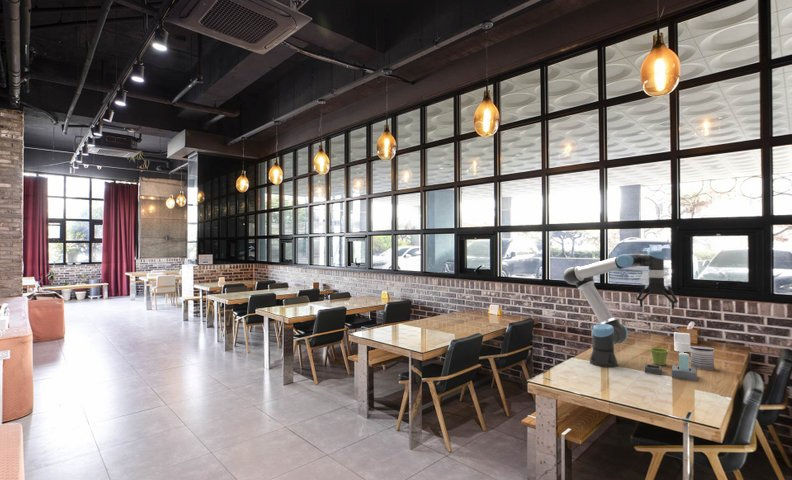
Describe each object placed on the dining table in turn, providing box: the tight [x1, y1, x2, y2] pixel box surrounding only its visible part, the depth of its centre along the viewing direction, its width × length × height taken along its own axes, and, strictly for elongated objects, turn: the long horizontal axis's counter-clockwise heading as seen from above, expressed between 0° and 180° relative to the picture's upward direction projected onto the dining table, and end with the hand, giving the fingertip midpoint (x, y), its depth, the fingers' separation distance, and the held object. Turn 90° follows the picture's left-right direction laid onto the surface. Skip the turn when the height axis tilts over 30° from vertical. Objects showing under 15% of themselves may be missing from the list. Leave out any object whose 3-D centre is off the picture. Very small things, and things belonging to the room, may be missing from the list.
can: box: [690, 345, 715, 371], centre depth 240 cm, size 11×11×12 cm
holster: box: [644, 363, 663, 376], centre depth 231 cm, size 8×8×3 cm
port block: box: [671, 365, 698, 382], centre depth 223 cm, size 11×11×4 cm
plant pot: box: [649, 347, 669, 366], centre depth 246 cm, size 9×9×9 cm
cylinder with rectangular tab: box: [673, 331, 691, 353], centre depth 276 cm, size 9×9×12 cm
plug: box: [678, 352, 690, 371], centre depth 223 cm, size 4×4×13 cm
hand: (657, 313), depth 235 cm, fingers open, 13 cm apart
